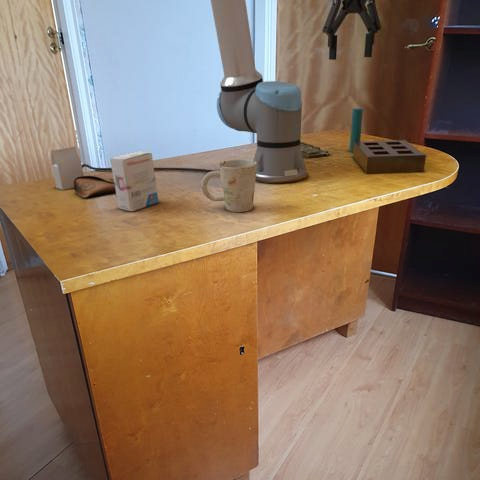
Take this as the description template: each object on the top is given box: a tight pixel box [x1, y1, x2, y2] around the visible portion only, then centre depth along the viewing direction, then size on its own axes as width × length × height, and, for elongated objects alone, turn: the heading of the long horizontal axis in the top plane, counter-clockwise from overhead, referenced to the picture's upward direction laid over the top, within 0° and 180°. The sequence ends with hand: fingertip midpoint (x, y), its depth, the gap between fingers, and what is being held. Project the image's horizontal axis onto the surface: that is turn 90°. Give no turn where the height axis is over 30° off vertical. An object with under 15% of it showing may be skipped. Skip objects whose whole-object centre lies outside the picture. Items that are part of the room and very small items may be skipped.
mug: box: [200, 158, 257, 213], centre depth 110 cm, size 8×13×10 cm, turn 89°
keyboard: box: [300, 141, 329, 159], centre depth 165 cm, size 22×9×2 cm, turn 21°
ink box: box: [109, 151, 159, 212], centre depth 114 cm, size 9×5×12 cm, turn 141°
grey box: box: [50, 145, 85, 191], centre depth 133 cm, size 4×7×10 cm, turn 135°
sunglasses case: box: [73, 171, 116, 199], centre depth 130 cm, size 18×7×7 cm
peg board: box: [352, 139, 427, 174], centre depth 144 cm, size 16×22×4 cm
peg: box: [349, 107, 364, 153], centre depth 159 cm, size 3×3×13 cm
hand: (350, 58), depth 154 cm, fingers open, 13 cm apart
